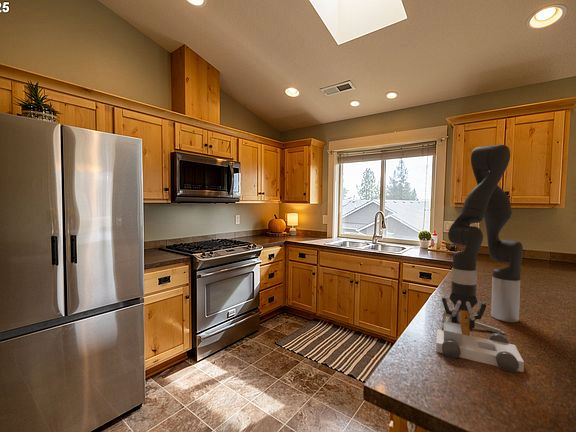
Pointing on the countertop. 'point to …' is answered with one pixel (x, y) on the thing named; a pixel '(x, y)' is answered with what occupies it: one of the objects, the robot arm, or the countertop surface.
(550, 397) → the countertop surface
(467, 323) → the supplement box
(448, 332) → the chassis
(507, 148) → the robot arm
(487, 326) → the caliper
